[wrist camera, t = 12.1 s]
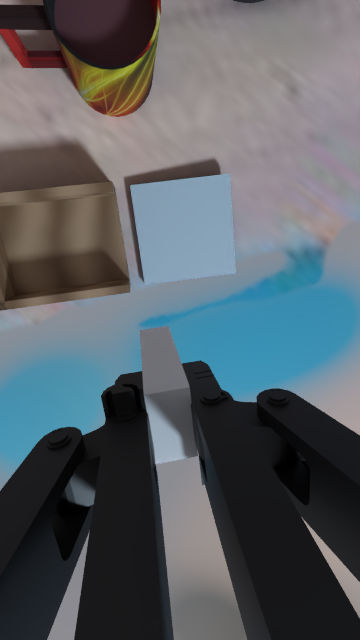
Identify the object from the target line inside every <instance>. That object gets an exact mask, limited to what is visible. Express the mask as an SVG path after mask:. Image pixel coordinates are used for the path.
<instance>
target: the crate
mask: <svg viewBox="0 0 360 640" xmlns="http://www.w3.org/2000/svg"><path fill="white" fill-rule="evenodd" d="M129 292H130V279H129V273H128V266H127V260H126V254H125V248H124V242H123V236H122V230H121V224H120V218H119V211H118V205H117V199H116V193H115V187H114V185H113V183H112V181H111V182H101V183H91V184H82V185H72V186H62V187H52V188H43V189H33V190H23V191H14V192H4V193H0V310H8V309H15V308H22V307H29V306H36V305H43V304H50V303H58V302H65V301H72V300H79V299H86V298H93V297H100V296H107V295H115V294H122V293H129Z"/></svg>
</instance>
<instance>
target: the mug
mask: <svg viewBox="0 0 360 640" xmlns="http://www.w3.org/2000/svg"><path fill="white" fill-rule="evenodd" d="M43 4H44V6H43V5H0V33H1V35H2V36H3V38H4V39H5V41H6V42H7V44H8V45H9V47H10V50H11V51H12V52H13V54H14V55H15V57H16V58H17V60H18V61H19V63H20V64H21V66H22V67H24V68H68V69H69V72H70V74H71V77H72V79H73V82H74V84H75V86H76V88H77V91H78V92H79V94H80V95H81V97H82V98H83V100H84V101H85V102H86V103H87V104H88V105H89V106H90V107H92V108H93V109H94V110H96V111H98V112H100V113H102V114H104V115H108V116H116V117H119V116H125V115H128V114H130V113H133V112H134V111H136V110H137V109H138V108H140V106H141V105H142V104H143V103H144V102H145V100H146V98H147V97H148V95H149V92H150V89H151V86H152V79H153V71H154V63H155V55H156V48H157V40H158V32H159V24H160V16H161V0H43ZM15 30H53V33H54V35H55V38H56V40H57V42H58V45H59V47H60V50H61V51H27V50H26V48H25V47H24V45H23V43H22V42H21V40H20V38H19V37H18V35H17V33H16V32H15Z"/></svg>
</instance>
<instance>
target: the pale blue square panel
mask: <svg viewBox="0 0 360 640" xmlns="http://www.w3.org/2000/svg"><path fill="white" fill-rule="evenodd" d="M130 189H131V196H132V203H133V209H134V216H135V223H136V229H137V236H138V243H139V249H140V256H141V263H142V270H143V276H144V283H145V284H153V283H161V282H169V281H177V280H186V279H193V278H202V277H210V276H218V275H226V274H234V273H236V268H235V250H234V233H233V216H232V200H231V183H230V174H222V175H213V176H204V177H196V178H187V179H179V180H170V181H162V182H153V183H144V184H136V185H130Z"/></svg>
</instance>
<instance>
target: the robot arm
mask: <svg viewBox="0 0 360 640" xmlns="http://www.w3.org/2000/svg"><path fill="white" fill-rule="evenodd" d="M234 1H237V2H243V3H254V2H260V1H263V0H234ZM140 341H141V358H142V371H141V372H134V373H128V374H122V375H120V376H119V377H118V379H117V380H116V381H115V385H113V386H111V387H109V388H107V389H106V390H105V391H104V392H103V393H102V395H101V398H102V403H103V408H104V412H105V417H106V421H105V424H104V425H103V426H102V427H100V428H99V429H97V430H95V431H92V432H90V433H88V434H85V435H82V433H81V431H80V430H79V429H77V428H75V427H65V428H59V429H57V430H54V431H52V432H50V433H49V434H47V435H45V436H44V437H43V438H42V439H41V440H40V441H39V442H38V443H37V444H36V445H35V447H34V448H33V449H32V451H31V452H30V453H29V455H28V456H27V457H26V458H25V460H24V461H23V462H22V464H21V465H20V466H19V468H18V469H17V470H16V471H15V473H14V474H13V475H12V477H11V478H10V479H9V480H8V482H7V483H6V484H5V486H4V487H3V488H2V490H1V491H0V640H47V638H48V636H49V633H50V631H51V628H52V625H53V623H54V620H55V618H56V615H57V612H58V610H59V607H60V605H61V602H62V600H63V597H64V595H65V592H66V590H67V587H68V584H69V582H70V579H71V576H72V574H73V571H74V569H75V566H76V564H77V561H78V558H79V556H80V554H81V551H82V548H83V546H84V543H85V541H86V538H87V536H88V533H89V530H90V533H89V540H88V547H87V554H86V562H85V568H84V575H83V582H82V589H81V596H80V603H79V610H78V617H77V624H76V631H75V638H74V640H174V637H173V627H172V617H171V607H170V597H169V587H168V577H167V567H166V557H165V547H164V536H163V527H162V516H161V506H160V496H159V486H158V477H157V471H156V464H160V463H165V462H170V461H175V460H180V459H185V458H190V457H195V456H198V453H199V461H200V470H201V479H202V485H204V484H205V486H206V490H207V493H208V497H209V501H210V505H211V508H212V512H213V515H214V519H215V523H216V526H217V530H218V534H219V537H220V541H221V545H222V548H223V552H224V555H225V559H226V563H227V567H228V570H229V573H230V578H231V581H232V585H233V588H234V592H235V596H236V600H237V603H238V607H239V610H240V614H241V617H242V621H243V625H244V629H245V632H246V636H247V640H360V618H359V617H358V615H357V613H356V611H355V610H354V608H353V606H352V604H351V603H350V601H349V599H348V598H347V596H346V594H345V592H344V591H343V589H342V587H341V585H340V584H339V582H338V580H337V578H336V577H335V575H334V573H333V572H332V570H331V568H330V566H329V565H328V563H327V561H326V559H325V558H324V556H323V554H322V552H321V551H320V549H319V547H318V545H317V544H316V542H315V540H314V539H313V537H312V535H311V533H310V531H309V530H308V528H307V526H306V525H305V523H304V521H303V519H304V520H305V521H306V522H307V523H308V524H309V526H310V527H311V528H312V529H313V530H314V531H315V532H316V534H317V535H318V536H319V537H320V538H321V539H322V540H323V541H324V542H325V544H326V545H327V546H328V547H329V548H330V549H331V550H332V551H333V553H335V555H336V556H337V557H338V558H339V559H340V560H341V561H342V563H343V564H344V565H345V566H346V567H347V568H348V569H349V571H350V572H351V573H352V574H353V575H354V576H355V577H356V578H357V580H358V581H360V435H358V434H356V433H355V432H353V431H352V430H350V429H349V428H347V427H346V426H344V425H343V424H341V423H339V422H338V421H336V420H335V419H333V418H332V417H330V416H329V415H327V414H326V413H324V412H322V411H321V410H319V409H318V408H316V407H315V406H313V405H311V404H310V403H308V402H307V401H305V400H304V399H302V398H301V397H299V396H297V395H296V394H294V393H292V392H290V391H287V390H283V389H269V390H265V391H263V392H261V393H259V395H258V396H257V402H239V401H234V400H233V398H232V396H231V395H230V394H229V393H228V392H226V391H224V390H221V388H220V386H219V384H218V382H217V380H216V379H215V377H214V375H213V373H212V371H211V369H210V367H209V366H208V364H206V363H204V362H202V361H195V362H189V363H183V364H181V361H180V358H179V355H178V352H177V349H176V347H175V344H174V341H173V338H172V335H171V332H170V330H169V327H168V326H166V327H160V328H153V329H147V330H140ZM197 450H198V453H197ZM301 517H302V518H303V519H302V518H301Z"/></svg>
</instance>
